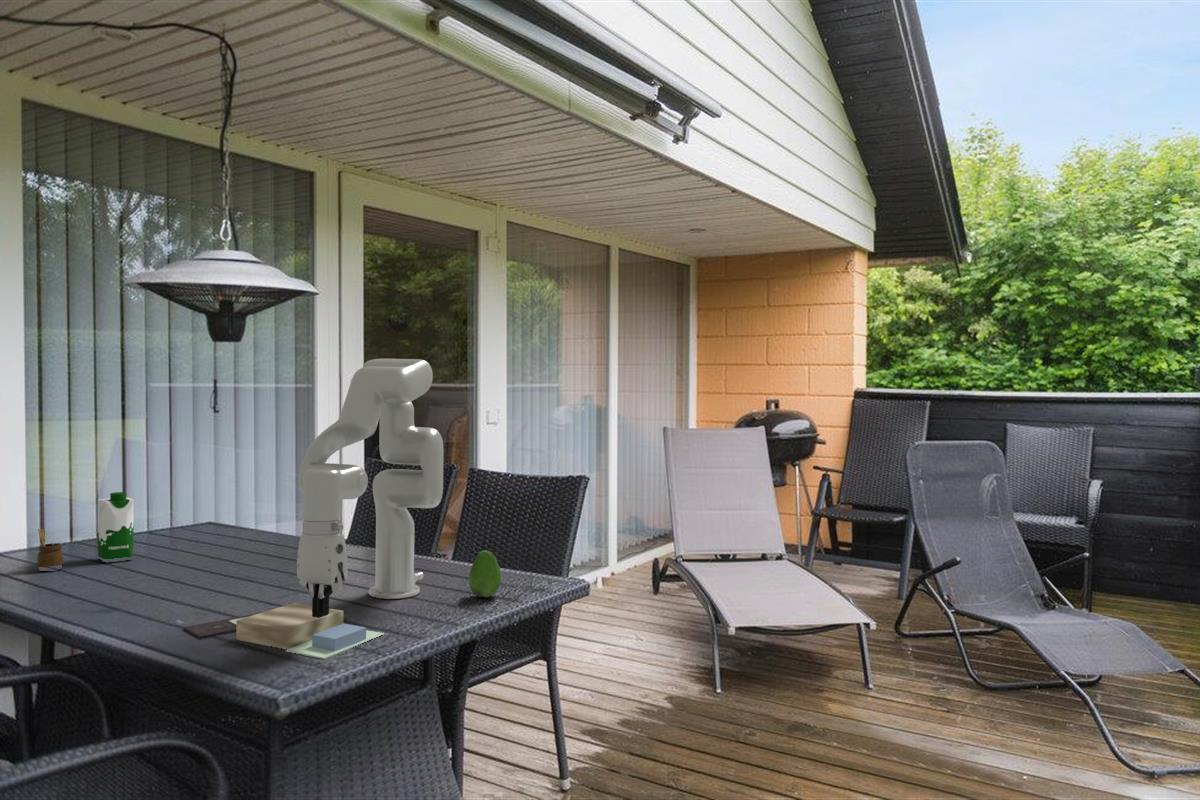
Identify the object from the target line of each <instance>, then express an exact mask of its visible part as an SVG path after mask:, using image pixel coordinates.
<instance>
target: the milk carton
mask: <svg viewBox="0 0 1200 800" xmlns="http://www.w3.org/2000/svg"><path fill="white" fill-rule="evenodd" d="M109 495H110V497H108V498H98V499H97V537H96V538H97V541H96V543H97V557H98V556H99V557H101V558H103V559H114V558H123V557H132V558H133V556H134V555H133V553H134V533H135V531H134V529H135V527H134V526H135V525H134V519H135V517H134V514H135V513H134V512H135V499H132V498H131V497H127V492H124V491H121V492H119V491H116V492H111V493H110V494H109Z"/></svg>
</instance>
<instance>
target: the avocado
mask: <svg viewBox="0 0 1200 800" xmlns="http://www.w3.org/2000/svg"><path fill="white" fill-rule="evenodd" d="M468 578H469V579H468V584H469V587H470V590H471V592H472V593H473V594H474V595H475V596H476V597H478V598H481V597H485V598H490V597H491V596H493V595H494V594H496V592H498V590H499V588H500V585H501V580H502V575H501V568H500V566H499V562H498V560H497V557H496V556H495V555H494V554H493V552H492V551H490V550H486V549H485V550H482V551H480V552H478V554H476V558H475V559H474V560H473V564H472V565H471V568H470V571H469V577H468Z"/></svg>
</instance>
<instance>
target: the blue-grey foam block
mask: <svg viewBox="0 0 1200 800" xmlns="http://www.w3.org/2000/svg"><path fill="white" fill-rule="evenodd" d="M366 630H367V627H365V626H359V625H354V624H349V623H348V624H347V623H343V624H341V625H339V626H336V627H333V628H330V629H327V630H324V631H321V632H319V633H316V634H313V635H312V647H317V648H322V649H327V650H332V651H337V650H339V649H342V648H344V647H347V646H350V645H352V644H355V643H357V642H360V641H363V640H365V639H366Z"/></svg>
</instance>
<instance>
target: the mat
mask: <svg viewBox="0 0 1200 800" xmlns="http://www.w3.org/2000/svg"><path fill="white" fill-rule="evenodd" d="M384 634H385V635H386V633H385V632H380V631H373V630H367V629H366V639H365V640H363V641H360V642H357V643H355V644H352V645H350V646H347V647H344V648H342V649H339V650H337V651H332V650H327V649H322V648H317V647H312V640H311V641H309V642H306V643H303V644H301V645H298V646H295V647H292V648H290V649H287V650H286V649H285V652H286V653H290V652H291V654H295V653H296V654H295V655H300V654H301V656H307V657H311V658H316V659H321V660H327V659H329V658H331V657H334V656H336V655H339V654H341V653H344V652H346V651H348V650H351V649H354V648H356V647H358V645H359V646H361V645H363V644H362V643H364V642H366V643H368V642H367V641H369V640H371V639H373V640H375V639H374V638H376V637H378V638H380V637H379V636H381V635H383V636H385V635H384ZM381 637H382V636H381ZM376 639H377V638H376ZM371 641H372V640H371ZM369 642H370V641H369ZM360 644H361V645H360ZM364 644H365V643H364ZM355 646H356V647H355ZM353 647H354V648H353Z"/></svg>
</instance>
